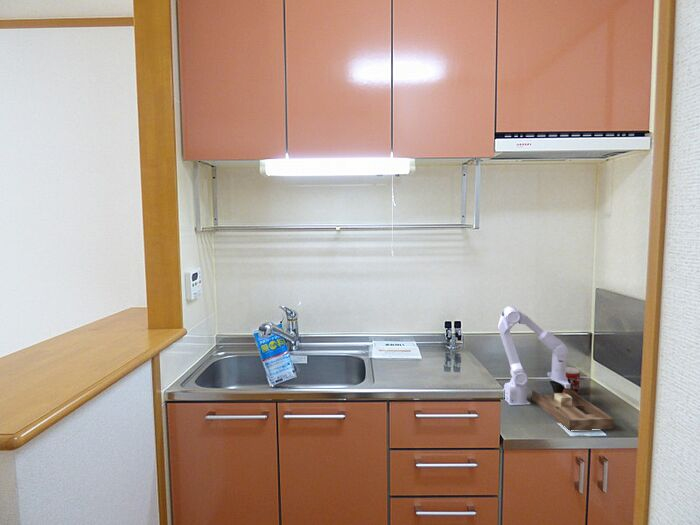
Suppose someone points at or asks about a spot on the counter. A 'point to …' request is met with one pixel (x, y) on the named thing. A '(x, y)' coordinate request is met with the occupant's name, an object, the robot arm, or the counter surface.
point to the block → (563, 399)
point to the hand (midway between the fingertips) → (557, 397)
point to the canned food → (573, 379)
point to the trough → (574, 412)
